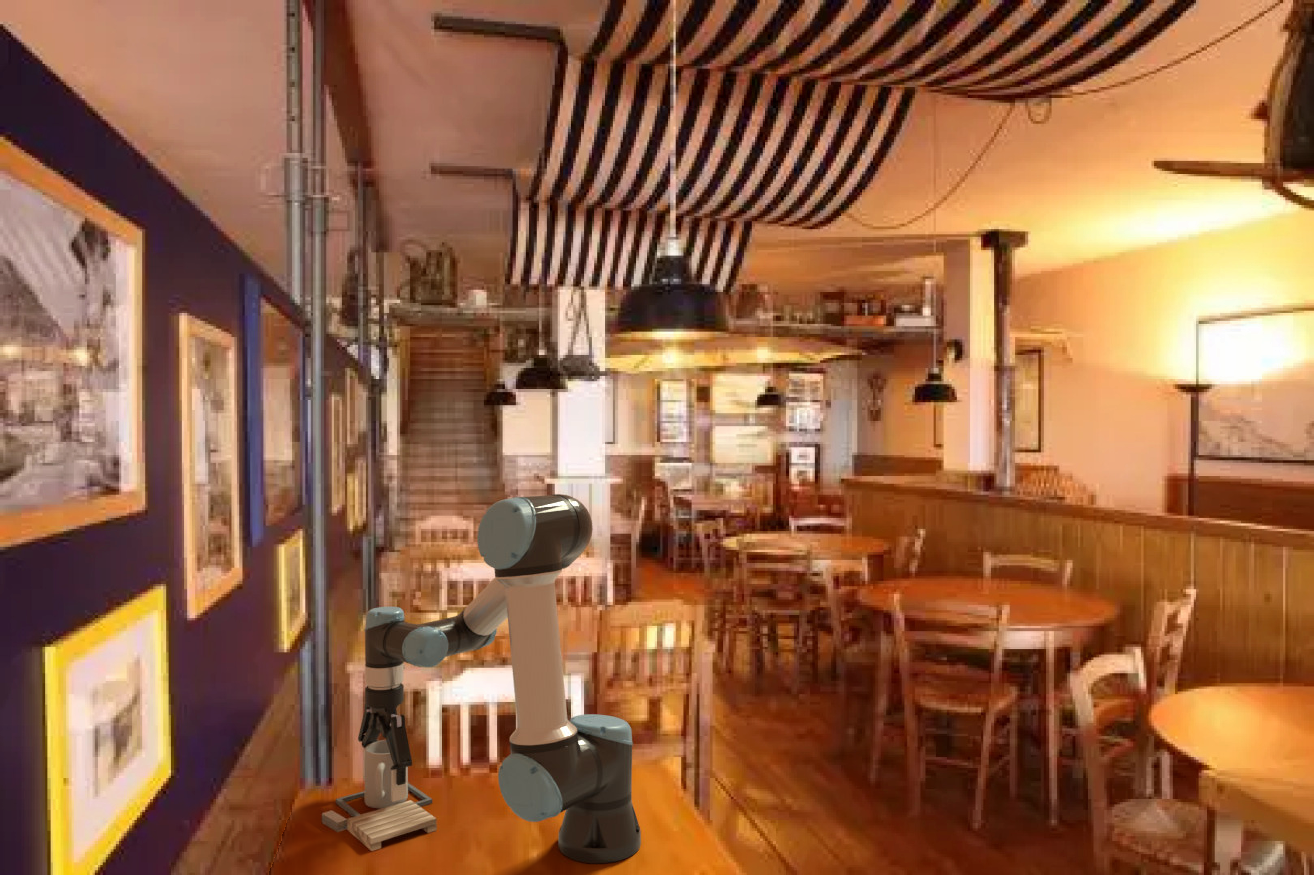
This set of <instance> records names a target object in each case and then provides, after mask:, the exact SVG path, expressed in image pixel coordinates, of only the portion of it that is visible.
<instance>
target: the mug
mask: <svg viewBox="0 0 1314 875" xmlns="http://www.w3.org/2000/svg"><path fill="white" fill-rule="evenodd" d="M392 766H394V765H393V762H392V758H391V755H390V752H389V748H388V745H387V741H386V739H381V740H377V742H374V743H371V744H369V745H368V746H367V747H366V748H365V781H364V791H365V795H364V797H363V799H364V804H365V805H366V806H367V807H369V808H371V809H382V808H386V807H389V806H393V805H396V804H399V803H403V802H406V801H408V800H407V799H408V797H409V790H408V783H409V780H408V778H409V777H408V775H409V774H408V773H409V771H408V769H409V768H408V767H409V766H408V767H406V798H405V799H401V800H398V801H394V802H392V801H391V767H392Z"/></svg>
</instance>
